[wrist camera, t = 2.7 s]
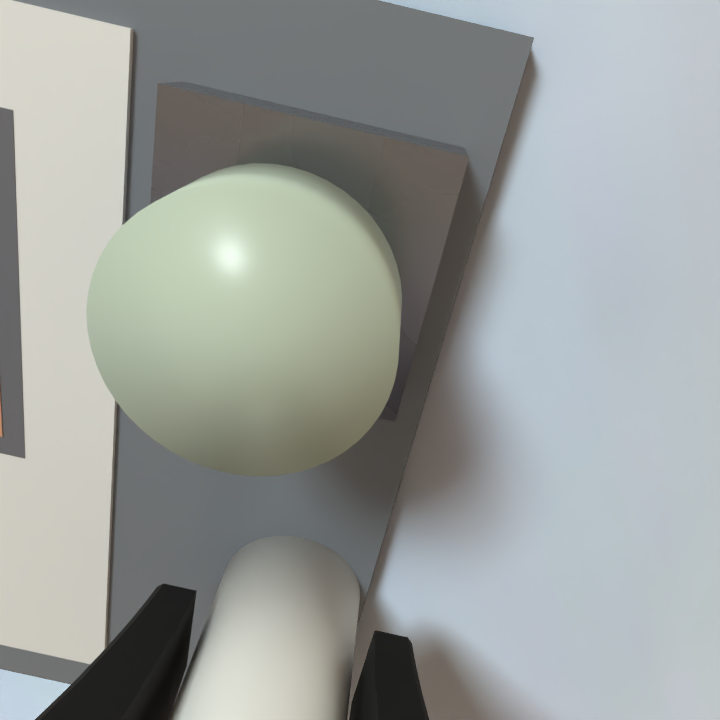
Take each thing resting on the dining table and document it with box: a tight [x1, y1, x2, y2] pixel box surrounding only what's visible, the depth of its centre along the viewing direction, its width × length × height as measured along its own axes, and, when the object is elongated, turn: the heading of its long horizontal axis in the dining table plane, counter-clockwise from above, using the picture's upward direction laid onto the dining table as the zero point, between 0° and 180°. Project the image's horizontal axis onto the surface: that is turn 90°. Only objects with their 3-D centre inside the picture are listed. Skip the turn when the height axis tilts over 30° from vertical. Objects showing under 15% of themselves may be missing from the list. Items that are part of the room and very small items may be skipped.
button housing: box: [150, 81, 469, 421], centre depth 9 cm, size 4×4×1 cm
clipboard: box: [0, 0, 534, 706], centre depth 11 cm, size 15×13×1 cm
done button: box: [86, 163, 402, 476], centre depth 7 cm, size 3×3×3 cm
